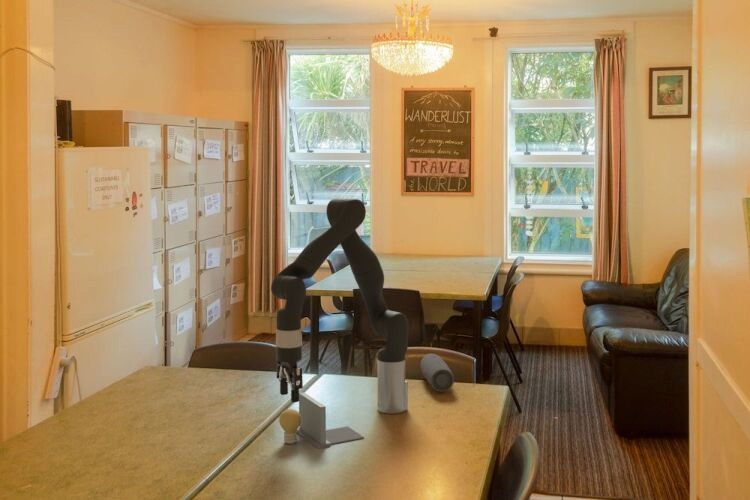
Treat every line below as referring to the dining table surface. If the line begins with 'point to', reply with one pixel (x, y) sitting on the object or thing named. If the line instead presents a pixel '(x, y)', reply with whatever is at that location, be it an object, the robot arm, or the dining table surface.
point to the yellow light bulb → (290, 424)
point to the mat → (342, 435)
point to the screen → (312, 421)
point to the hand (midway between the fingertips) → (289, 398)
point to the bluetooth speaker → (437, 372)
